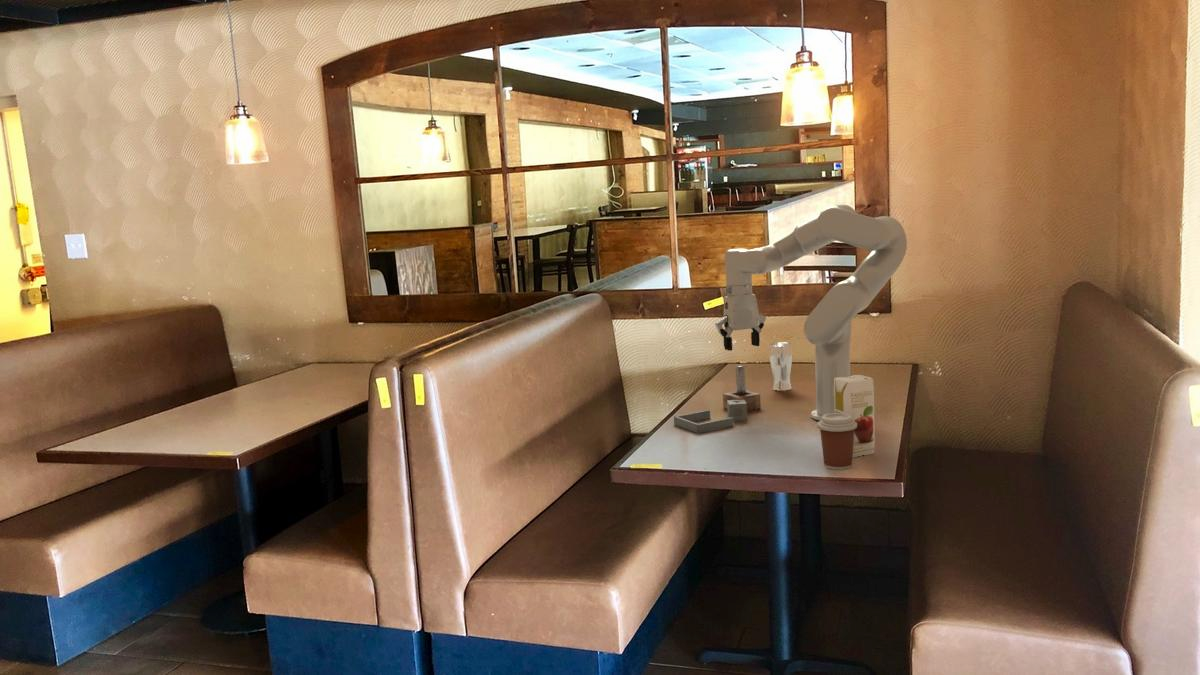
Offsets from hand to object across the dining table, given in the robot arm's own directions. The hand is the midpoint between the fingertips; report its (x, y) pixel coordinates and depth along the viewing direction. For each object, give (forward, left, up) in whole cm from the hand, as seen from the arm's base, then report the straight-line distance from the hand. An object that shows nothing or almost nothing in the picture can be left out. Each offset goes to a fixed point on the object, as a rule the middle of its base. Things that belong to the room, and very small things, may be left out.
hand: (742, 347), depth 272 cm
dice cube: (-7, +8, -19) cm, 22 cm away
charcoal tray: (-7, +19, -19) cm, 28 cm away
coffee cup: (-59, +16, -19) cm, 64 cm away
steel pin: (+2, -1, -19) cm, 19 cm away
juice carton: (-54, +6, -19) cm, 57 cm away
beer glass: (+14, -26, -19) cm, 35 cm away
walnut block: (+2, -1, -19) cm, 19 cm away
